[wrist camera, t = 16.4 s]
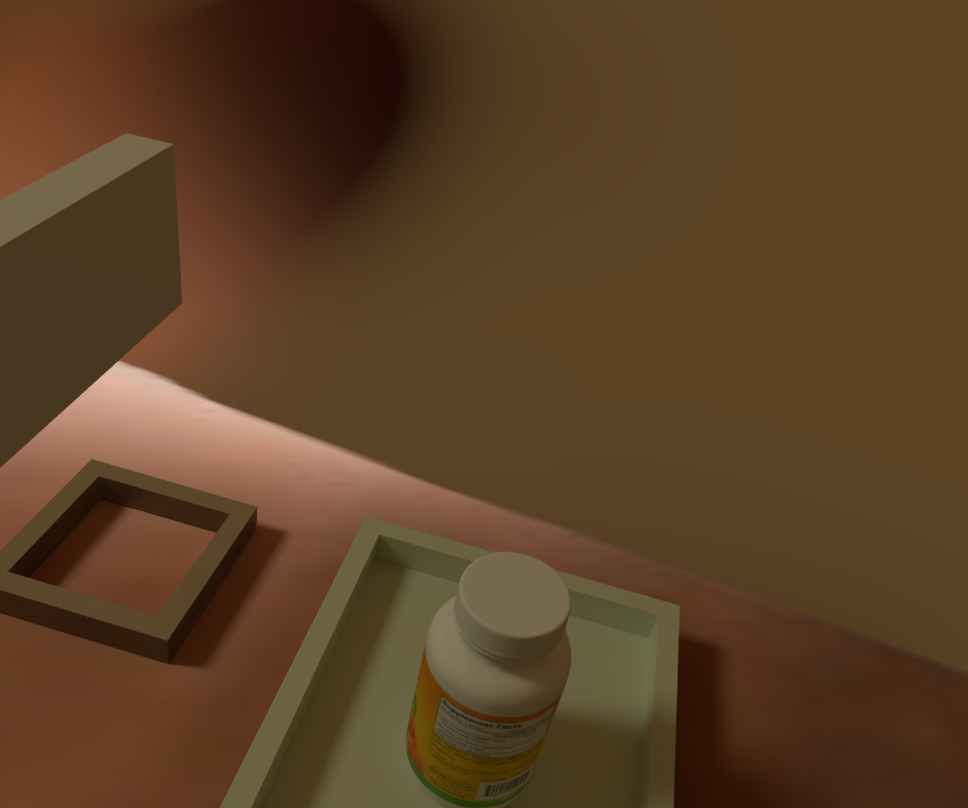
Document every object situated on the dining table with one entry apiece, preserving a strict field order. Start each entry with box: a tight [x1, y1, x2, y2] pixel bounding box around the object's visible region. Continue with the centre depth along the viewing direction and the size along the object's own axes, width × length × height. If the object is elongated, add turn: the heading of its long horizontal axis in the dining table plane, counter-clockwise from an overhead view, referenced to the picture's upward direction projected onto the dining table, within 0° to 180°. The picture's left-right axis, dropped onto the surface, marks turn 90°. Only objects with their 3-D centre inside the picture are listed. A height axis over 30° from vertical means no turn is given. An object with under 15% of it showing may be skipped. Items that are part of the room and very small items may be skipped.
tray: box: [220, 516, 680, 808], centre depth 36 cm, size 16×20×2 cm
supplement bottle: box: [405, 552, 571, 808], centre depth 33 cm, size 5×5×10 cm
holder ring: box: [0, 459, 257, 663], centre depth 41 cm, size 9×9×2 cm
